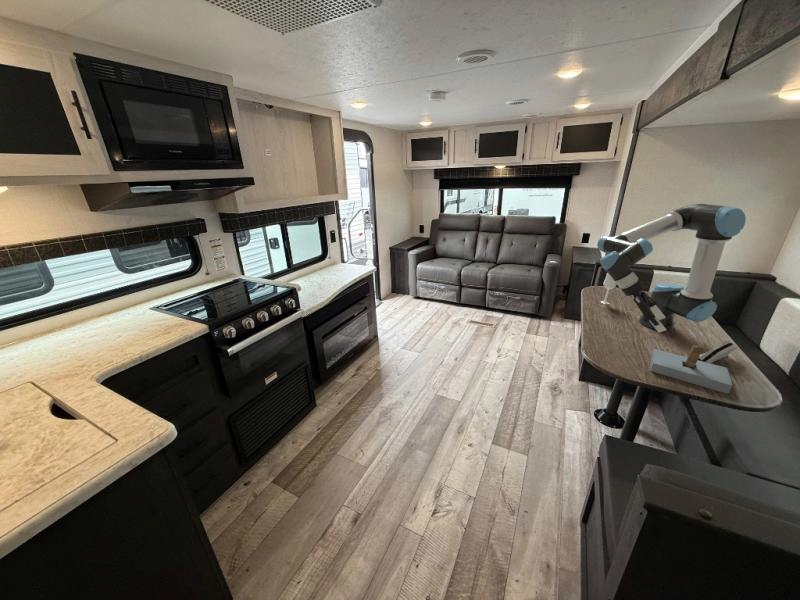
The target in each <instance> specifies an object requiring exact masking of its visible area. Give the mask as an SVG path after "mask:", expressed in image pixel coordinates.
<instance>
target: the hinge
mask: <svg viewBox="0 0 800 600" xmlns="http://www.w3.org/2000/svg"><path fill="white" fill-rule="evenodd" d="M736 349H738V346H737V345H736V344H733V342H732V341H729V340H726V341H722V342H721V343H719V344H718V345H715V346H713V347H711V348H710V349H709V350H708V351H706V352H703V353H700V356H699V358H698V360H699V359H700V360H699V361H702V362H706V363H710V364H713V363H714V362H717V361H718V360H721V359H724V358H725V357H727V356H729V355H730V354H731V353H732V352H733V351H735V350H736Z"/></svg>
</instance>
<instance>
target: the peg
mask: <svg viewBox="0 0 800 600" xmlns="http://www.w3.org/2000/svg"><path fill="white" fill-rule="evenodd" d="M702 351H703V346H700V345H696V344H693V345H692V347H691V349H690V352H689V354H688V356H687V360H686V363H685V365H684V367H687V368H691V369H694V367H695V365H696V362H697V360H699V356H700V355H701V354H702Z"/></svg>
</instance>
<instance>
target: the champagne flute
mask: <svg viewBox="0 0 800 600" xmlns="http://www.w3.org/2000/svg"><path fill="white" fill-rule="evenodd" d="M615 283H616V282H615V281H614V280H613V279H612V277H611V276H610V275H609V274H608V272H606V276H605V279H604V281H603V286H604V288H605V289H606V293H605V296H604V300H602V301H600V302H601V303H603V304H610V303H609V302H608V300H607V299H608V296H609V294H610V290H612V289H615V287H616V286H617V285H615Z"/></svg>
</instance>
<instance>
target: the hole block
mask: <svg viewBox="0 0 800 600" xmlns="http://www.w3.org/2000/svg"><path fill="white" fill-rule="evenodd" d="M687 358H688V356H683V355H679V354H676V353H671V352H667V351H664V350H660V349H656V348H654V349H653V350H652V353H651V357H650V369H649V370H650V372H652V373H655V374H659V375H663V376H666V377H670V378H673V379H675V380H680V381H684V382H686V383H689V384H694V385H697V386H699V387H703V388H706V389H710V390H714V391H717V392H720V393H724V394H727V395H729V393H730V392H731V389H732V387H733V382H732V380H731V376H730V373H729V370H728V367H725V366H721V365H717V364H714V363H706V362H704V361H703V360H699V359H698V360H697V362H696V365H695V367H694V369H691V368H687V367H684V365H685V363H686V360H687Z"/></svg>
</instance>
